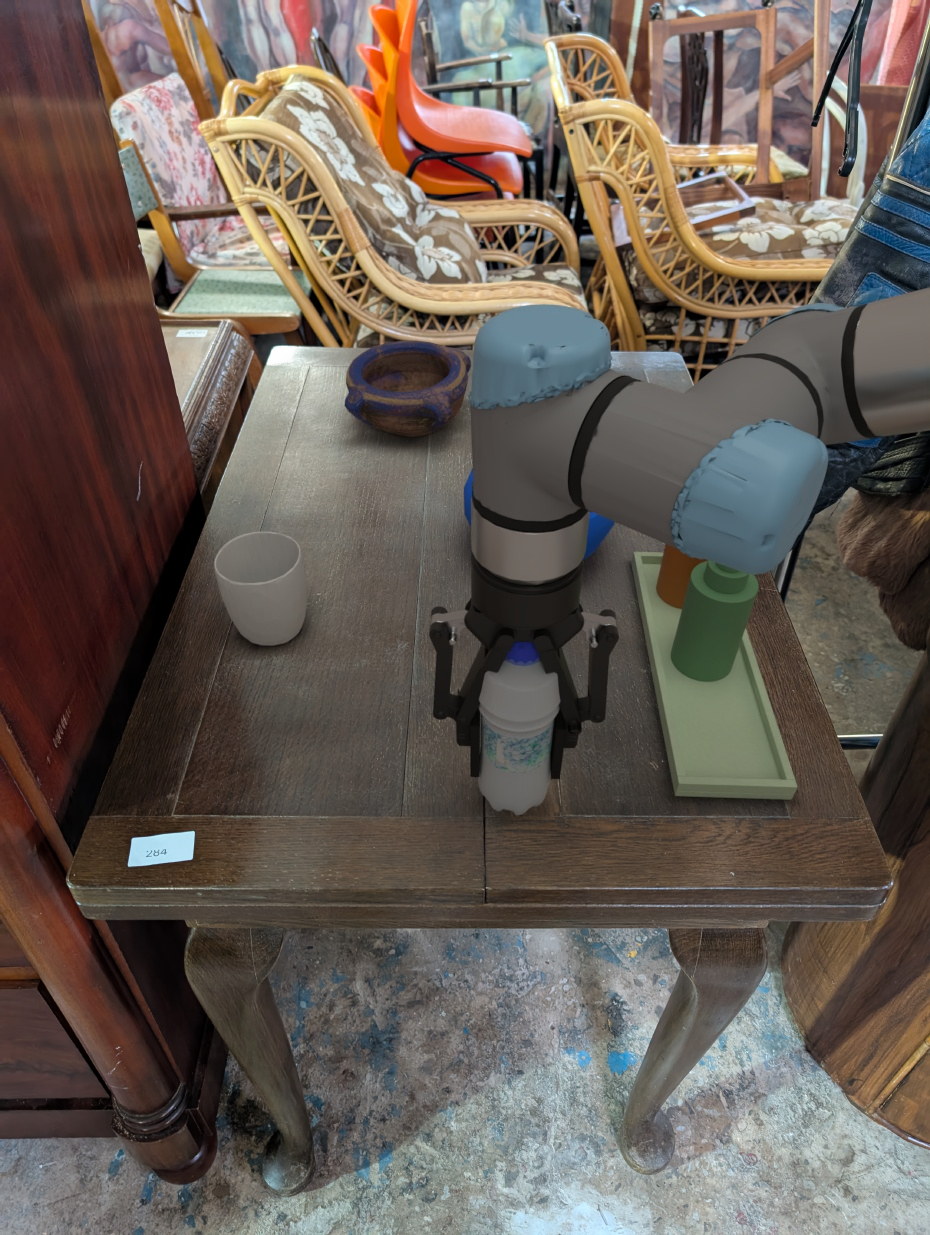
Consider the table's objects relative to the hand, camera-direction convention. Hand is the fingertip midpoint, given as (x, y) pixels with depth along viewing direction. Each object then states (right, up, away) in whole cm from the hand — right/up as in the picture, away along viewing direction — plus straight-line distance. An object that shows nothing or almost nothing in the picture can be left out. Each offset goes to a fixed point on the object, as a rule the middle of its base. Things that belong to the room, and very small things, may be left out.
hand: (514, 764), depth 68 cm
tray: (+21, +8, +17) cm, 28 cm away
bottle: (0, -3, +3) cm, 4 cm away
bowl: (-13, +42, +54) cm, 69 cm away
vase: (+5, +21, +31) cm, 38 cm away
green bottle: (+21, +8, +16) cm, 27 cm away
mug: (-26, +13, +22) cm, 36 cm away
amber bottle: (+21, +16, +24) cm, 36 cm away
